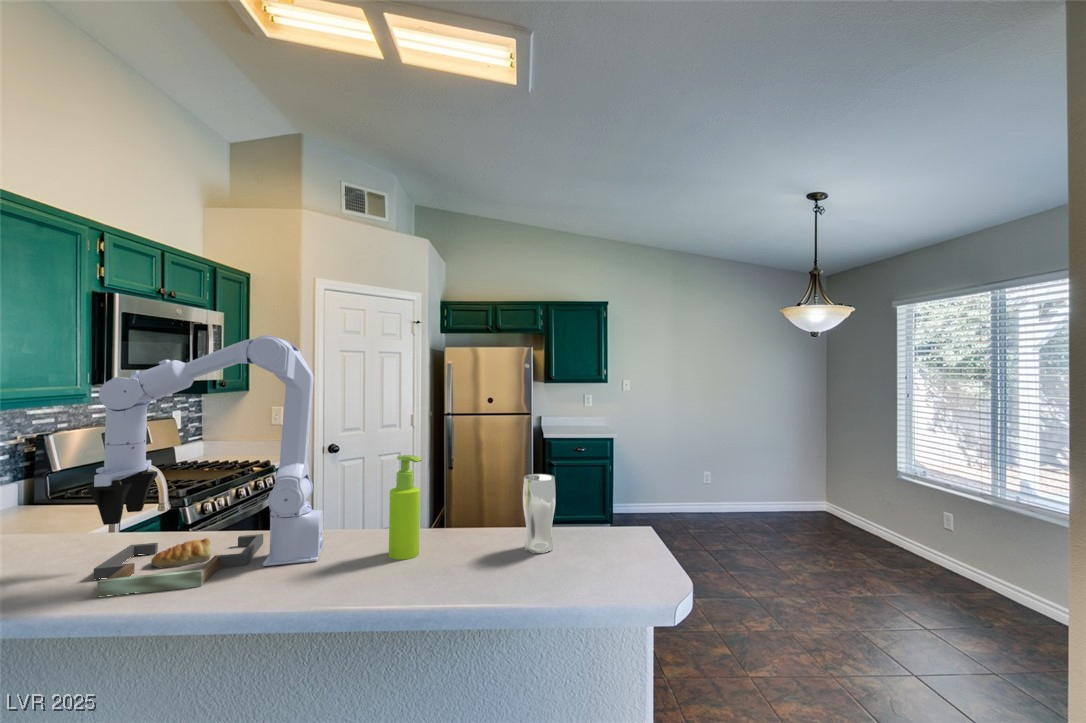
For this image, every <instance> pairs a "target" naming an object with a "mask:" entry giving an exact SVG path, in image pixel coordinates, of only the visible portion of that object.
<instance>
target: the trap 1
mask: <svg viewBox="0 0 1086 723" xmlns="http://www.w3.org/2000/svg"><path fill="white" fill-rule="evenodd" d="M158 546H159V543H158V542H149V543H138V544H136V543H135V544H130V545H129V546H126V547H125V548H124V549H122V550H120V551H119V552H117V553H116V554H114V555H113V556H111V557H110V558H108V559H107V560H105V561H103V562H102V563H100V564H99V565H98V566H96V567H94V568H93V578H92V579H99V578H100V580H101V578H108V577H110V576H111V575H112V574H114V573H115V572H117V571H118V570H120V569H121V568H122V567H124V566H125V565H127V564H128V563H126V562H127V561H126V560H127V559H129V558H130V557H132V556H133V555H138V554H154V555H156V554H158V553H159V551H158ZM157 552H158V553H157ZM155 553H156V554H155ZM132 558H133V557H132ZM129 560H130V559H129ZM125 561H126V562H125ZM123 562H125V563H124V564H122V563H123Z"/></svg>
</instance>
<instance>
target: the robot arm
mask: <svg viewBox="0 0 1086 723" xmlns="http://www.w3.org/2000/svg"><path fill="white" fill-rule="evenodd" d="M158 364H159V365H156V366H154V367H150V368H148V369H144V370H142V371H141V370H135V371H131V372H130V377H125V376H115V377H113V378H111V379H109V380H108V381H106V382H105V383H103V384H102V385H101V387H100V388H99V390H98V398H99V401H100V403H101V404H102V405H103V406H104V407H105V423H104V424H105V425H104V427H105V430H104V458H103V460H104V461H103V462H104V463H103V466H102V467H98V468H96V469H95V472H96V473H97V474H95V475H94V478H93V479H94V480H93V481H94V482H93V484H90V485H87V488H86V490H87V493H88V494H89V495H90V496H91V497H92V499H93V501H94V502H95V504H96V506H97V509H98V511H99V515H100V517H101V518H100V519H101V521H102V524H103V525H104V526H105V525H106V526H107V525H117V524H120V523H121V520H122V516H123V512H124V506H125V509H126V511H127V513H135V512H136V513H137V512H140V513H141V512H142V511H143V509H144V506H145V503H146V500H147V496H148V493H149V491H150V488H151V486H152V485H153V482H154V481H155V479H156V477H158V471H156V470H154V471H153V470H152V459H147V432H148V431H147V429H148V427H147V425H148V422H147V421H148V406H149V405H150V404H151V403H152V402H153V401H156V400H159V399H162V398H165V397H167V396H170V395H172V394H175V393H178V392H180V391H183V390H186V389H188V388H190V387H192V386H193V383H194V382H195V379H196V378H200V377H202V376H205V375H209V374H211V373H214V372H217V371H220V370H223V369H226V368H229V367H232V366H236V365H237V364H239V365H240V364H245V365H247V364H248V365H249V364H250V365H255V366H257V367H259V368H261V369H262V370H265V371H267V372H270V373H272V374H273V376H275V377H276V378H277V379H279V380H280V381H281V382H282V383H283V384H284V385H285V392H284V393H285V394H284V406H283V415H282V416H283V419H282V430H281V441H280V443H281V444H280V455H279V465H278V468H277V472H276V474H275V481H274V486H273V487H272V490H271V491H270V493H269V494H268V498H267V504H268V507H269V510H270V521H269V522H270V523H269V524H270V526H269V530H270V531H269V532H270V533H269V554H268V555H267V557H266V559H265V560H264V561H263V563H262V566H263V567H267V566H268V567H269V566H270V567H271V566H278V565H287V564H288V565H290V564H297V563H307V562H309V563H310V562H316V561H318V560H319V558H320V555H321V553H322V551H323V549H324V511H323V510H321V509H312V508H313V507H312V505H311V504H310V502H309V501H308V500H309V498H310V497H311V496H312V494H313V491H314V486H313V485H314V484H313V482H312V480H311V477H310V466H309V462H308V458H309V446H310V434H311V433H310V432H311V420H312V419H311V418H312V406H313V396H314V395H313V394H314V393H313V392H314V382H315V381H314V380H315V378H314V374H313V372H312V370H311V369H310V367H309V365H308V363H307V362H306V360H305V359H304V357H303V355H302V353H301V350H300V349H299V348H298V347H297V346H295V345H294V344H293V343H291V342H290V341H289V340H287V339H285V338H278V337H276V336H275V335H274V336H273V335H269V334H267V335H259V336H257V337H256V338H255V339H253V338H251V339H250V338H249V339H245V340H242V341H239V342H235V343H233V344H230V345H229V346H226V347H223V348H221V349H218V350H216V351H215V350H214V352H210V353H208V354H205V355H203V356H200V357H198V358H195V359H194V360H191V361H188V362H184V361H180V360H178V359H174V360H170V359H163V360H160V361H158ZM119 481H120V482H119ZM124 504H125V505H124Z"/></svg>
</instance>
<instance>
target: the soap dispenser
mask: <svg viewBox="0 0 1086 723" xmlns="http://www.w3.org/2000/svg"><path fill="white" fill-rule="evenodd" d="M396 458H397V460H399V461H400V470H398V471H397V472H396V481H395V482H396V486H395V487H393V488H391V489H390V490H389V515H388V516H389V518H388V524H389V526H388V527H389V528H388V558H390V559H391V560H394V561H395V560H396V561H406V560H410V559H413V558H416V557H417V556H418V555H419V554H420V500H421V498H420V497H421V490H420V487H418V486H414V482H415V480H414V479H415V478H414V477H415V476H414V475H415V473H414V471H413V470H411V469H410V465H411V464H410V462H413V463H418V462H422V461H423V458H421V457H419V456H416V455H413V454H411V455H409V454H407V455H406V454H404V455H398V456H397V457H396Z"/></svg>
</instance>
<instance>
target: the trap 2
mask: <svg viewBox="0 0 1086 723" xmlns="http://www.w3.org/2000/svg"><path fill="white" fill-rule="evenodd" d="M263 544H264V534H263V533H261V534H260V533H259V534H247V535H239V536H238V537H237V548H241V547H243V548H244V547H246V548H245V549H244V550H243V551H242V552H239V553H229V554H220V556H219V564H218V569H219V568H221V569H222V568H230V567H241V566H246V565H247V564H248V563H249V562H250V560H252V558H253V557H254V555H255V554H256V553H257V552H258V550H259V549H260V548H261V547H262V545H263Z"/></svg>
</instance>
